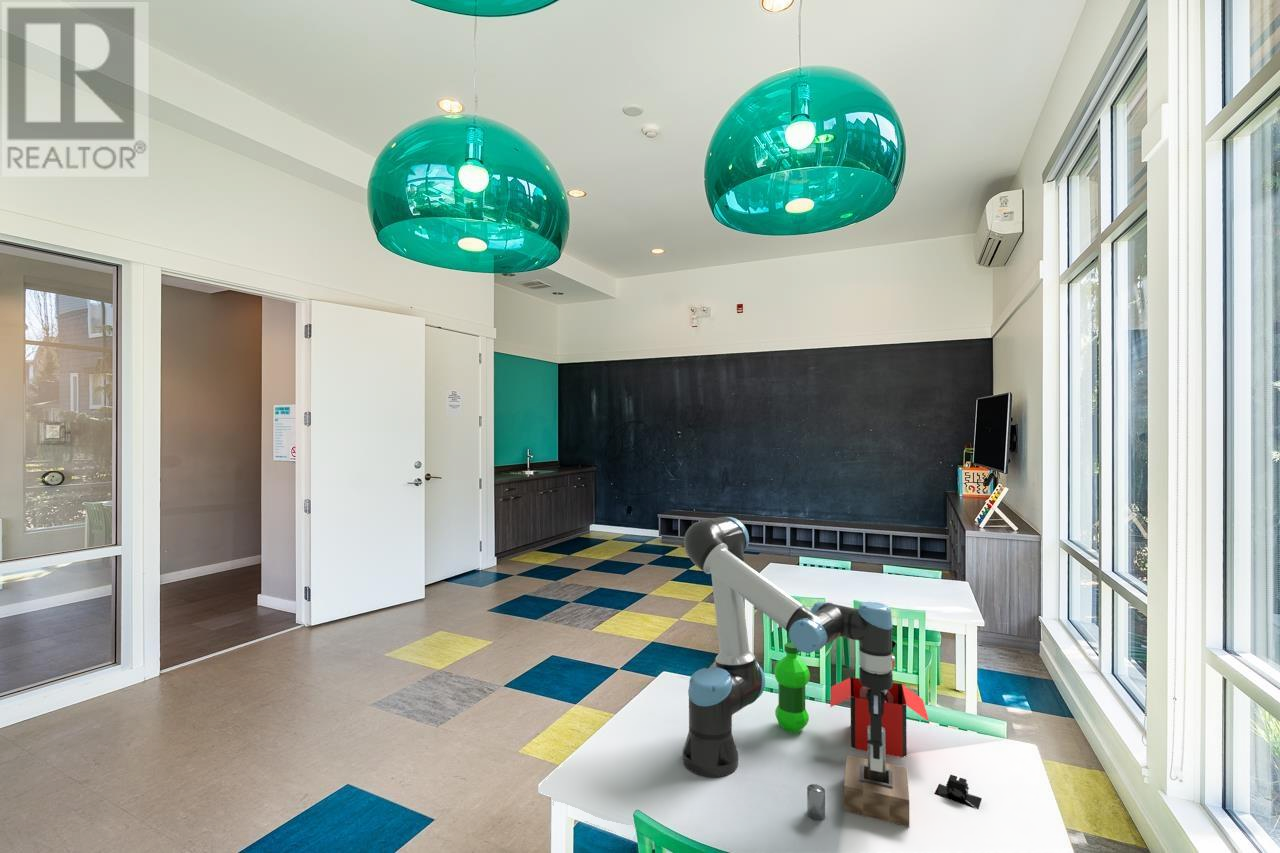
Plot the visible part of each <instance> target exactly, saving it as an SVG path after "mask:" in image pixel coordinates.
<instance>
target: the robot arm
mask: <svg viewBox="0 0 1280 853" xmlns="http://www.w3.org/2000/svg"><path fill="white" fill-rule="evenodd" d="M749 544H750V536H749V532H748V529H747V528H746V526H745V524H744V523H742V522H741V521H740V520H739V519H737V518H735V517H732V516H720V517H715V518H711V519H706V520H705V519H704V520H699V521H696V522H694V523H693V524H692V525H690V526H689V527H688V528H687V530H686V531H685V534H684V537H683V545H684V547H683V548H684V551H685V553H686V554H687V557H688V558H689V559H690V561H691V562H692V563H693V564H694V565H695V566H696V567H697V568H698V569H700V570H701V571H702V572H703V573H705V574H707V575H710V574H711V582H712V592H713V601H714V611H715V619H716V630H717V631H716V632H717V640H718V648H719V653H718V654H717V655H716V657H715V659H714V660H715V667H714V666H709V667H708V668H706V667H703V668H700V669H698V670H696V671H695V672H694V673H692V675H691V676H690V679H689V686H688V692H687V693H688V694H687V695H688V733H687V737H686V739H685V743H684V745H683V748H682V763H683V766H684V767H685V768H686V769H687V770H689V771H691V772H692V773H694V774H696V775H699V776H702V777H708V778H710V777H711V778H717V777H718V778H719V777H724V776H727V775H730V774H732V773H734V772H735V771H736V770H737V769H738V767H739V752H738V749H737V746H736V742H735V739H734V737H733V732H732V730H733V719H732V718H733V715H734V714H735V713H738V712H739V711H741V710H743V709H744V708H745V707H747V706H750V705H752V704H753V703H754V702H756V700H758V698H760V696H762V695H763V693H764V690H765V688H766V687H765V686H766V675H765V673H764V670H763V668H762V667H761V666H760V663H758V661H757V660H756V655H755V654H754V653H752V651H750V646H749V637H748V630H747V619H746V611H745V603H744V600H746V601H747V602H748V603H750V604H751V605H753V606H754V607H755V609H758V610H759V611H760V612H761V613H763V614H764V615H766V616H767V617H768V618H770V620H772V621H773V622H774V623H776V624H777V625H779V626H780V628H782V629H783V630H784V631H786V632H787V633H788V634H789V639H790V641H791V643H793V645H794V647H795V648H796V649H798V650H799V652H801V653H804V654H805V653H806V654H810V653H813V652H814V653H815V652H816V651H819V650H821V649H823V647H825V646H826V645H828V644H830V643H831V642H833V641H835V640H836V639H838V638H840V637H841V638H846V639H849V640H854V641H858V664H859V665H858V666H860V667H859V668H858V669H859V676H858V677H859V680H860V683H861V684H862V685H863V686H865V687H868V688H870V689H867V700H868V711H869V713H870V719H871V740H867V743H870V770H874V771H878V772H883V755H882V715H883V714H884V703H885V691H882V690H888V689H890V688H891V687H892V686H893V683H894V682H893V677H894V676H893V674H894V673H893V671H891V670H892V661H895V662H896V658H895V656H894V657H892V653H893V652H892V640H893V616H892V610H891V608H890V607H889V606H888V605H887V604H884V603H881V602H873V601H863V602H861V603H859V605H858V608H854V607H850V606H844V605H839V604H835V603H832V602H829V601H827V602H825V601H817V602H815V603H814V604H813V607H811V609H809V608H807V607H806V606H804V605H803V604H802V603H800V602H799V601H798V600H796V599H795V598H794V597H792V596H790V595H789V594H788V593H786V592H785V591H784V590H783V589H781V588H780V587H778V586H777V585H776V584H775V583H773V582H772V581H770V580H769V579H768V578H766V577H765V576H763V575H762V574H760V572H758V571H757V570H755V569H754V568H752V567H751V566H750V565H748V564H747V563H746V562H745V556H744V552H745V551H746V550H747V548H748V546H749Z"/></svg>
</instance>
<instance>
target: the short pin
mask: <svg viewBox="0 0 1280 853" xmlns="http://www.w3.org/2000/svg"><path fill="white" fill-rule="evenodd" d="M806 797H807V798H806V800H807V801H806V802H807V803H806V804H807V806H806V814H807V817H808V818H809V819H811V820H813V821H816V822H821V821H824V820H825V818H826V789H825V788H824V787H823V786H822V785H819V784H815V783H812V784H809V785H807V787H806Z"/></svg>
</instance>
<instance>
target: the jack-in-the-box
mask: <svg viewBox="0 0 1280 853" xmlns="http://www.w3.org/2000/svg"><path fill="white" fill-rule="evenodd" d="M896 644H897V643H896V641H895V640H893V639H892V657H895V656H894V654H893V652H894V648H895V646H896ZM895 667H896V660H895V661H892V670H891V671H892V672H893V671H894V670H895ZM867 689H870V688H868V687H865V686H863V685H862V684H861V683H860V680H859V678H858V677H848V678H847V679H844V680H842V681H840V682H838V683H836V684H834V685H832V686H831V689H830V705H829V706H830V708H832V707H834V706H836V705H838V704H841V703H842V702H844V701H846V700H849V699H850V747H851V748H853V749H854V750H858V751H862V752H868V743H867V740H868V726H869V725H871V719H870V713H869V711H868V700H867ZM882 691H885V703H884V714H883V715H882V727H883V728H884V729H885V756H886V755H887V756H893V757H897V756H899V757H900V758H905V757H907V756H908V755H907V751H908V750H907V745H908V744H907V743H908V742H907V707H908V708H909V709H911V710H912V711H913V712H915V713H916V714H917V715H919V716H920V717H922V718H923V719H924V720H925V721H927V722H930V720H929V716H928V713H927V709H926V706H925V703H924V699H923V698H922V697H920V695H919V696H918V694H916V693H914V692H913V691H912V690H910V689H909V688H907V687H906V686H905V685H903V684H902V683H897V682H893V686H892V687H891V688H890V689H888V690H882ZM906 755H907V756H906ZM904 756H905V757H904ZM899 757H898V758H899Z"/></svg>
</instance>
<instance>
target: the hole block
mask: <svg viewBox="0 0 1280 853" xmlns="http://www.w3.org/2000/svg"><path fill="white" fill-rule="evenodd" d="M908 778H909V777H908V767H906V766H900V765H896V764H891V763H886V783H883V782H878V781H873V780H869V779H868V758H867V759H865V758H863V757H862V758H861V757H857V756H851V755H847V757H846V766H845V776H844V784H843V785H844V786H843V789H844V790H843V793H844V794H843V797H844V798H843V804H844V805H843V807H844V808H843V809H844V810H843V811H844V813H845V812H846V813H851V814H854V815H859V816H864V817H866V818H869V819H875V820H879V821H883V822H888V823H892V824H897V825H900V826H903V827H904V826H905V827H907V828H910V792H909V791H910V790H909V779H908Z"/></svg>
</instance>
